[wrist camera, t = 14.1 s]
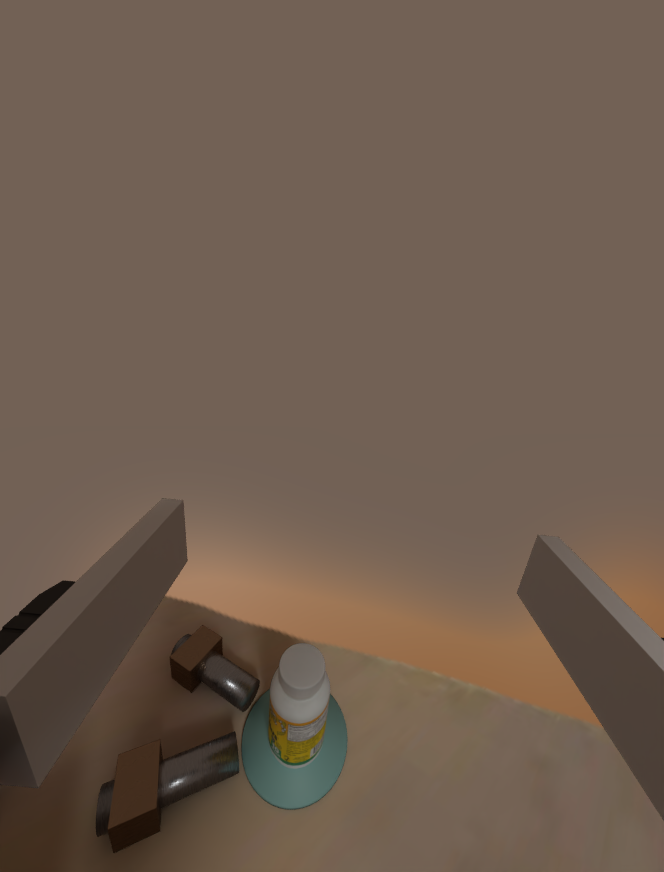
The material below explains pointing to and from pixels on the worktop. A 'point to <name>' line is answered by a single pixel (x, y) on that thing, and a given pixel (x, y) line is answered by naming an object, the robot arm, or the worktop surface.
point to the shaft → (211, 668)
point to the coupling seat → (288, 783)
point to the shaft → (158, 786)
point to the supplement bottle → (298, 706)
